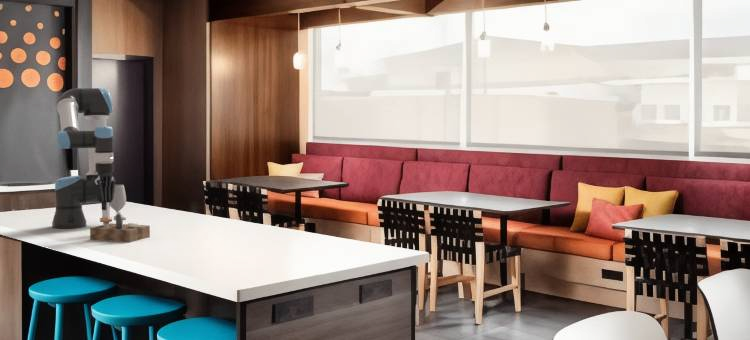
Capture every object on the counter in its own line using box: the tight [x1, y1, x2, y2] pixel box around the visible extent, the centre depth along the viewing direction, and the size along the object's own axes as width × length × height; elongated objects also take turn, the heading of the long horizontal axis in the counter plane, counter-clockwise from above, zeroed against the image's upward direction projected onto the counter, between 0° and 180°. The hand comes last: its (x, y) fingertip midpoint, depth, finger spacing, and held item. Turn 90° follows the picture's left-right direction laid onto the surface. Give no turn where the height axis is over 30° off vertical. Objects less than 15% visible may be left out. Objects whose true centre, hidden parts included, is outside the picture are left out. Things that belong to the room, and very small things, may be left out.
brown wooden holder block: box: [89, 222, 151, 243], centre depth 366 cm, size 20×14×5 cm
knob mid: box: [113, 214, 127, 227], centre depth 366 cm, size 5×5×6 cm
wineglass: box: [110, 184, 127, 214], centre depth 384 cm, size 8×8×21 cm
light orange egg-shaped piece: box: [99, 216, 113, 227], centre depth 368 cm, size 5×5×6 cm
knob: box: [127, 222, 141, 228], centre depth 364 cm, size 5×5×6 cm
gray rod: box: [115, 211, 122, 229], centre depth 359 cm, size 2×2×7 cm
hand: (106, 217), depth 368 cm, fingers closed
